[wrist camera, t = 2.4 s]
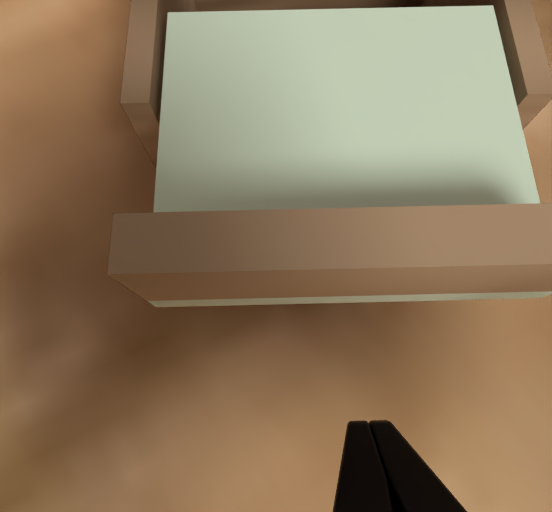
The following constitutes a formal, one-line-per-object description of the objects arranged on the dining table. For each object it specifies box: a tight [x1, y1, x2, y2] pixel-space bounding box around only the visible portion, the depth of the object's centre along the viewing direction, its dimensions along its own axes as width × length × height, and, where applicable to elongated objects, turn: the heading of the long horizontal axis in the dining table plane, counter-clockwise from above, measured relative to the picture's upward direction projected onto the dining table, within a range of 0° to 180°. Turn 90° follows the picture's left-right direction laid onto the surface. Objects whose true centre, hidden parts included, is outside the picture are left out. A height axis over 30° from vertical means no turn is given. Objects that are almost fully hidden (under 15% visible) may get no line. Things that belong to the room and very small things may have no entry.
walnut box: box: [120, 0, 552, 168], centre depth 17 cm, size 10×12×8 cm
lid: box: [107, 5, 552, 307], centre depth 10 cm, size 9×10×3 cm
